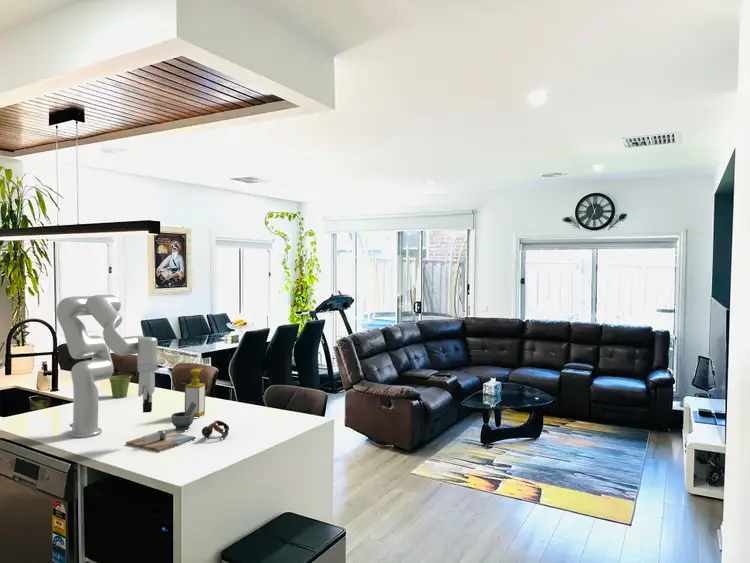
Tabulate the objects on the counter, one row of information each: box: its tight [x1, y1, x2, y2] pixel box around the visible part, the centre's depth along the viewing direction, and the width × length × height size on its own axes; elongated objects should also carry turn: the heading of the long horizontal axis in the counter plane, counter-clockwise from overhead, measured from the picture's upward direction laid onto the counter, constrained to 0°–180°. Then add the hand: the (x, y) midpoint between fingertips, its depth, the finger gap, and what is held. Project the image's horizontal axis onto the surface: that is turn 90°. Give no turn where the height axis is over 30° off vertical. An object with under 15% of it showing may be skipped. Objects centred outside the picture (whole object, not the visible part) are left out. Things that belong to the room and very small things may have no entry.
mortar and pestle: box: [171, 402, 197, 432], centre depth 239 cm, size 11×9×12 cm
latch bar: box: [141, 429, 167, 445], centre depth 216 cm, size 11×3×3 cm, turn 154°
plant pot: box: [108, 375, 132, 399], centre depth 302 cm, size 12×12×11 cm
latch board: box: [125, 430, 196, 453], centre depth 219 cm, size 19×19×1 cm
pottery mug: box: [201, 420, 230, 440], centre depth 226 cm, size 12×10×8 cm
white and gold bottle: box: [184, 368, 206, 419], centre depth 265 cm, size 7×13×24 cm, turn 174°
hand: (147, 411), depth 218 cm, fingers closed
